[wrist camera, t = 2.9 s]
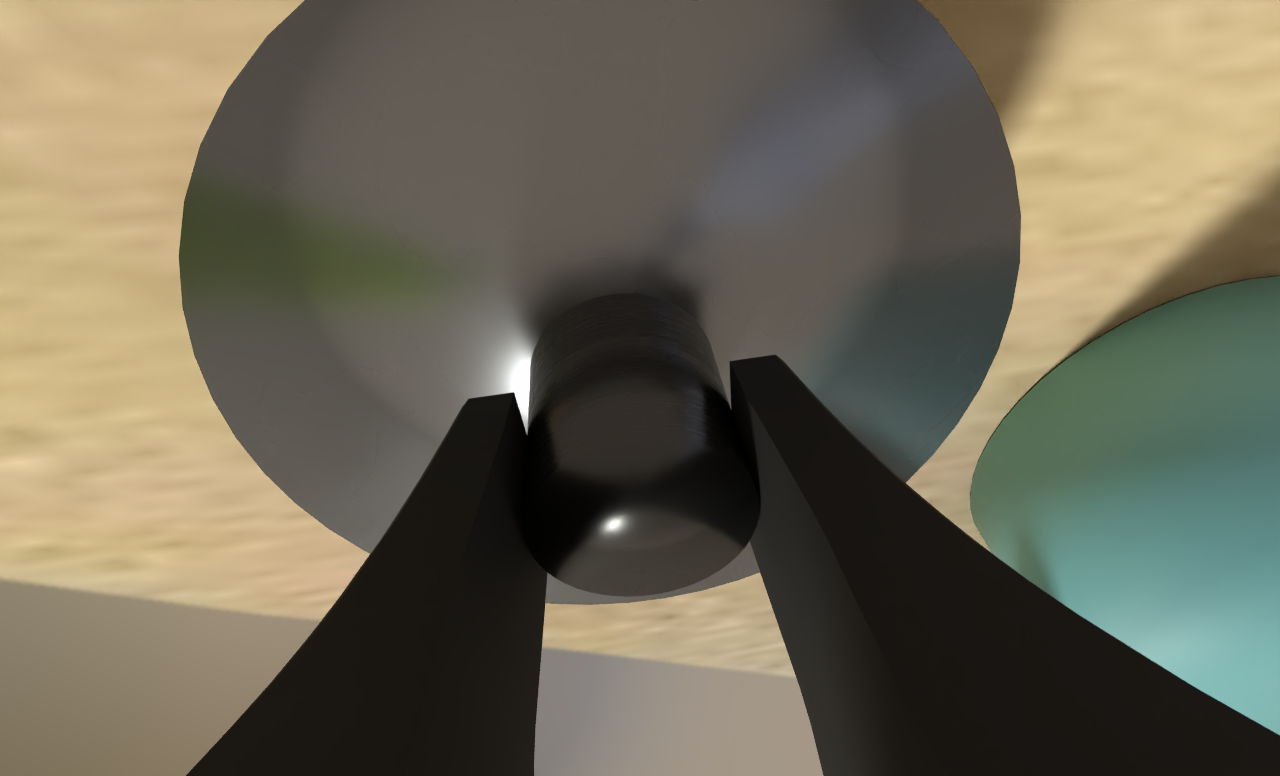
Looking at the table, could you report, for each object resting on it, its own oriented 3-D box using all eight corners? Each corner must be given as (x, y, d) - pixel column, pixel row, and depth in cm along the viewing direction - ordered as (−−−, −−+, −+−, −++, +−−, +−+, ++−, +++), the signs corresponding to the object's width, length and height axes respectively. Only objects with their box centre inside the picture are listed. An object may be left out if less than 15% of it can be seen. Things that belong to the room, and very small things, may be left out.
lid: (835, -421, 6) (1115, -673, 3) (1043, 405, 13) (1194, 578, 10) (7, 237, 9) (-267, 439, 6) (533, 628, 16) (529, 815, 13)
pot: (1506, 150, 14) (1955, 300, 10) (1421, 456, 21) (1669, 634, 16) (869, 435, 18) (977, 644, 13) (963, 622, 24) (1058, 807, 20)
